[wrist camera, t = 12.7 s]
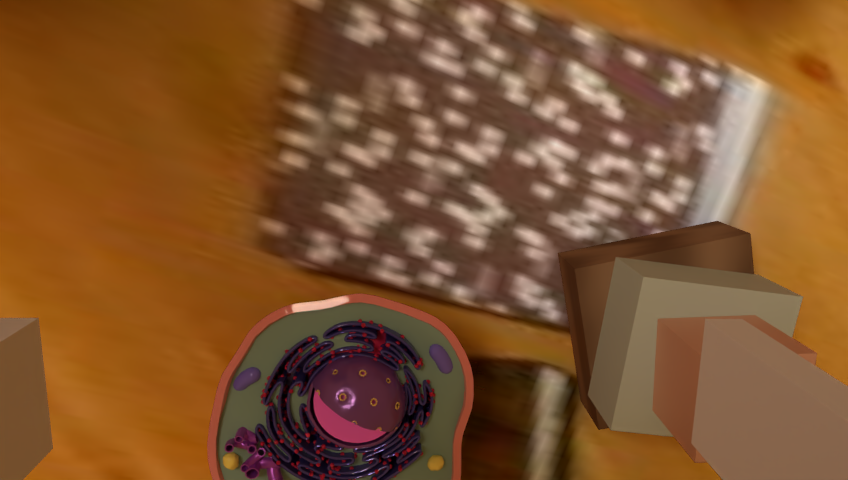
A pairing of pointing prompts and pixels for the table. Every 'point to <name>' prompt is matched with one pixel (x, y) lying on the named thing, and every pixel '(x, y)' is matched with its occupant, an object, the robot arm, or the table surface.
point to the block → (693, 370)
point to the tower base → (594, 265)
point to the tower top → (637, 328)
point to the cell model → (343, 396)
